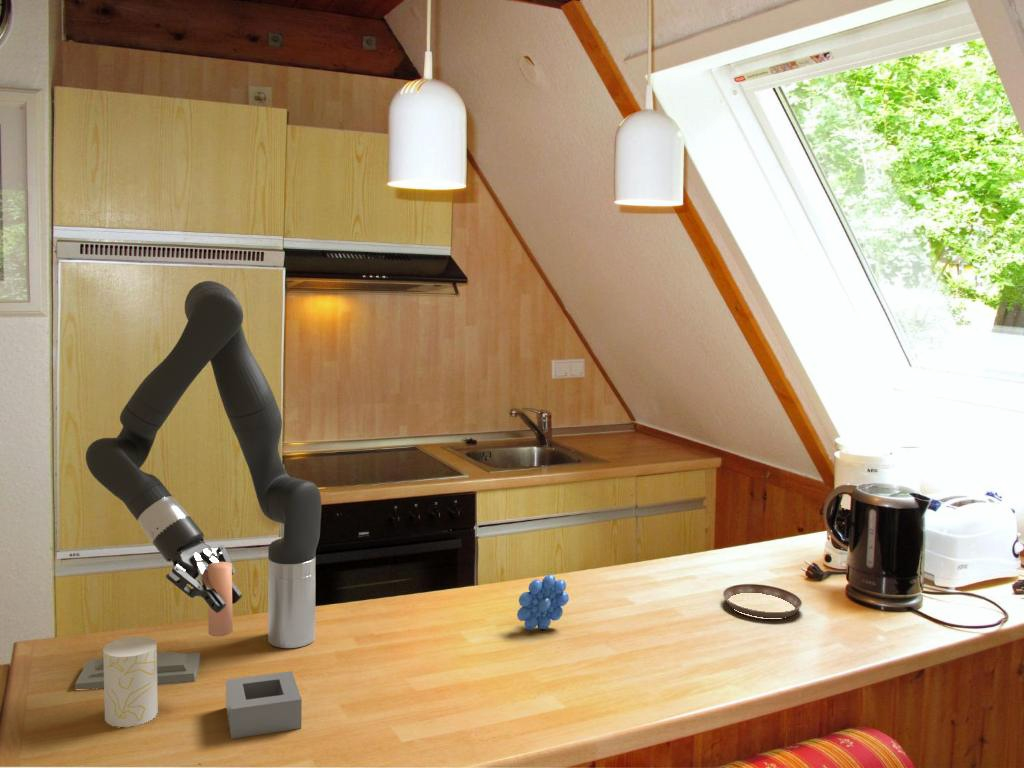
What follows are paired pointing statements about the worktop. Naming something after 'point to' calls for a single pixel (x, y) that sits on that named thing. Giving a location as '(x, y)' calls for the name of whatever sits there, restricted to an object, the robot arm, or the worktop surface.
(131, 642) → the white patterned cylinder
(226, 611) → the peg
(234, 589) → the robot arm
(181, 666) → the soap mold
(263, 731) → the socket block
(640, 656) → the worktop surface
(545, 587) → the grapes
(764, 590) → the dark grey ring
